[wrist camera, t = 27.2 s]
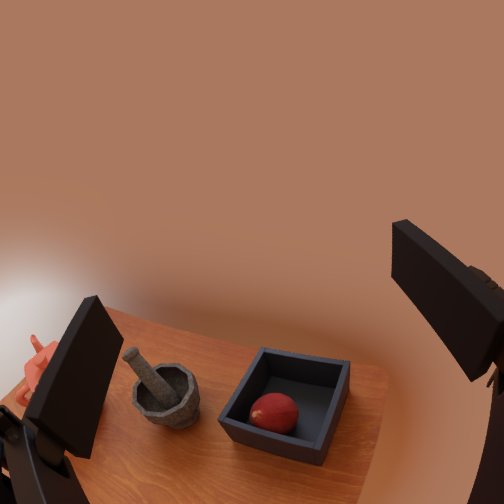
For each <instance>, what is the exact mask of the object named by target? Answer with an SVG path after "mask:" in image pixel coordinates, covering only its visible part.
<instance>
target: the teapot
mask: <svg viewBox="0 0 504 504" xmlns="http://www.w3.org/2000/svg"><path fill="white" fill-rule="evenodd" d="M30 338H31V342H32V344H33V346H34V348H35V350H36V352H37V354H36V355H35V356H34V357H33V358H32V359H30V360H29V361H28V362H27V363H26V364H25V367H24V370H25V377H26V381H27V384H25V385H24V386H23V387H21V388H20V389H19V390H18V391H17V393H16V395H15V400H16V402H17V403H18V404H20V405H22V406H24V407H27V406H28V403H29V401H30V399H27V398H25V397H24V395H25V394H26V393H27V392H28V391H30V390H31V392H32V394H33V392H35V390H34V389H35V387H36V385H37V384H38V381H39V379H40V377H41V374H42V372H43V371H44V370H45V369H46V367H47V365H48V363H49V361H50V359H51V357H52V355H53V353H54V352H55V350H56V348H57V346H58V344H59V343H58V342H57V341H53V342H52V343H50V344H49V345H48V346H46V347H45V348H44V347H43V346H42V345H41V344H40V342H39V341H38V340H37V338H36V336H35V335H31V337H30ZM103 405H104V404H103Z"/></svg>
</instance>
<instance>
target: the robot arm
mask: <svg viewBox="0 0 504 504" xmlns="http://www.w3.org/2000/svg"><path fill="white" fill-rule="evenodd" d="M391 273H392V274H391V277H392V278H393V279H394V281H396V283H397V284H398V285H399V286H400V288H401V289H402V290H403V291H404V293H405V294H406V295H407V296H408V297H409V299H410V300H411V301H412V302H413V303H414V305H415V306H416V307H417V309H418V310H419V311H420V312H421V313H422V315H423V316H424V317H425V319H426V320H427V321H428V322H429V324H430V325H431V326H432V328H433V329H434V330H435V332H436V333H437V334H438V336H439V337H440V338H441V340H442V341H443V343H444V344H445V345H446V347H447V348H448V350H449V351H450V352H451V354H452V355H453V356H454V358H455V359H456V361H457V362H458V364H459V365H460V367H461V368H462V370H463V371H464V372H465V374H466V376H467V377H468V379H469V380H470V381H471V382H473V381H474V380H476V379H478V378H479V377H481V376H482V375H484V374H485V373H486V372H487V371H488V369H489V367H490V366H491V364H492V362H494V363H495V365H496V366H497V368H496V369H495V371H494V373H493V374H492V376H491V378H490V379H489V381H488V383H487V387H489V386H490V385H491V383H492V382H493V380H494V383H493V394H492V404H491V410H490V417H489V424H488V429H487V435H486V440H485V445H484V449H483V453H482V457H481V461H480V465H479V469H478V472H477V476H476V479H475V482H474V485H473V488H472V491H471V494H470V497H469V500H468V503H467V504H504V290H503V289H502V288H501V287H499V286H498V284H496V282H494V281H492V280H491V278H490V277H489V276H488V275H487V274H485V273H484V272H483V271H481V270H479V269H477V268H475V267H473V266H469V267H467V266H466V265H464V264H463V263H462V262H461V261H460V260H459V259H457V258H456V257H455V256H453V254H451V253H450V252H449V251H448V250H446V249H445V248H444V247H443V246H441V245H440V244H439V243H438V242H436V241H435V240H434V239H432V238H431V237H430V236H429V235H427V234H426V233H425V232H423V231H422V230H421V229H419V228H418V227H417V226H415V225H414V224H412V223H411V222H410V221H408V220H407V219H405V220H402V221H398V222H394V223H392V272H391ZM123 341H124V338H123V337H122V335H121V334H120V332H119V331H118V329H117V328H116V326H115V324H114V323H113V321H112V320H111V318H110V316H109V315H108V313H107V311H106V310H105V308H104V306H103V305H102V303H101V301H100V300H99V298H98V296H97V295H96V296H91V297H87V298H84V300H83V302H82V303H81V305H80V307H79V308H78V310H77V312H76V314H75V315H74V317H73V319H72V320H71V322H70V324H69V326H68V327H67V329H66V331H65V333H64V335H63V337H62V339H61V340H60V342H59V344H58V346H57V348H56V350H55V352H54V353H53V355H52V357H51V359H50V361H49V363H48V365H47V367H46V369H45V370H44V371H43V372H42V374H41V377H40V379H39V381H38V384H37V385H36V387H35V389H34V390H35V392H33V394H32V396H31V399H30V401H29V403H28V406H27V408H26V410H25V413H24V415H23V418H22V420H20V419H19V418H18V417H17V416H16V415H14V414H13V413H12V412H11V411H10V410H9V409H8V408H7V407H6V406H5V405H0V504H90V503H89V501H88V499H87V497H86V495H85V493H84V491H83V489H82V487H81V485H80V483H79V481H78V479H77V476H76V474H75V472H74V470H73V467H72V465H71V463H70V460H69V459H68V457H67V456H65V455H64V452H65V449H66V450H67V451H68V452H70V453H71V454H73V455H74V456H75V457H81V458H87V459H90V456H91V452H92V447H93V443H94V439H95V435H96V431H97V427H98V423H99V419H100V415H101V411H102V408H103V404H104V401H105V397H106V394H107V390H108V387H109V384H110V381H111V377H112V374H113V371H114V368H115V365H116V362H117V359H118V356H119V353H120V350H121V347H122V344H123ZM2 467H3V468H4V469H6V470H7V471H9V474H10V478H9V477H7V476H6V475H4V474H3V473H2Z"/></svg>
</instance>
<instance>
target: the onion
mask: <svg viewBox="0 0 504 504" xmlns="http://www.w3.org/2000/svg"><path fill="white" fill-rule="evenodd" d="M298 418H299V410H298V408H297V405H296V403H295V402H294V401H293V400H292V399H291V398H290V397H288V396H286V395H284V394H281V393H269V394H266V395H264V396H262V397H260V398H259V399H258V400H257V401H256V402H255V403H254V404H253V405H252V408H251V410H250V421H251V424H252V426H254V427H257V428H260V429H263V430H267V431H270V432H274V433H277V434H281V435H285V434H287V433H289V432H290V431H291V430H292V429H293V428H294V427H295V426H296V423H297V421H298Z"/></svg>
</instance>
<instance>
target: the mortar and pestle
mask: <svg viewBox="0 0 504 504" xmlns="http://www.w3.org/2000/svg"><path fill="white" fill-rule="evenodd" d="M122 359H123V360H124V361H126V362H128V364H129V365H130V366H131V368H132V369H133V371H134V372H135V373H136V375H137V376H138V377H139V380H138V381H137V382H136V384H135V385H134V386H133V401H132V404H133V405H134V406H135V407H136V408H137V409H138V410H139V411H140V412H141V413H142V414H143V415H144V416H145V417H146V418H147V419H148V420H149V421H151V422H152V423H154V424H160V425H169V426H170V427H171V428H175V429H184V428H186V427H188V426H190V425H192V424H194V423H195V421H196V419H197V418H198V416H199V414H200V410H199V402H200V396H199V390H198V385H197V382H196V379H195V377H194V375H193V373H192V372H191V371H189V370H188V369H186V368H185V367H184V366H182V365H181V364H179V363H165V364H159V365H157V366H155V367H153V368H152V367H151V366H150V365H149V363H148V362H147V361H146V360H145V359H144V358H143V357H142V356H141V355H140V354H139V350H138V348H137V347H132V348H130V349H128V350H127V351H126V352H125V353H124V354H123V356H122Z"/></svg>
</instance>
